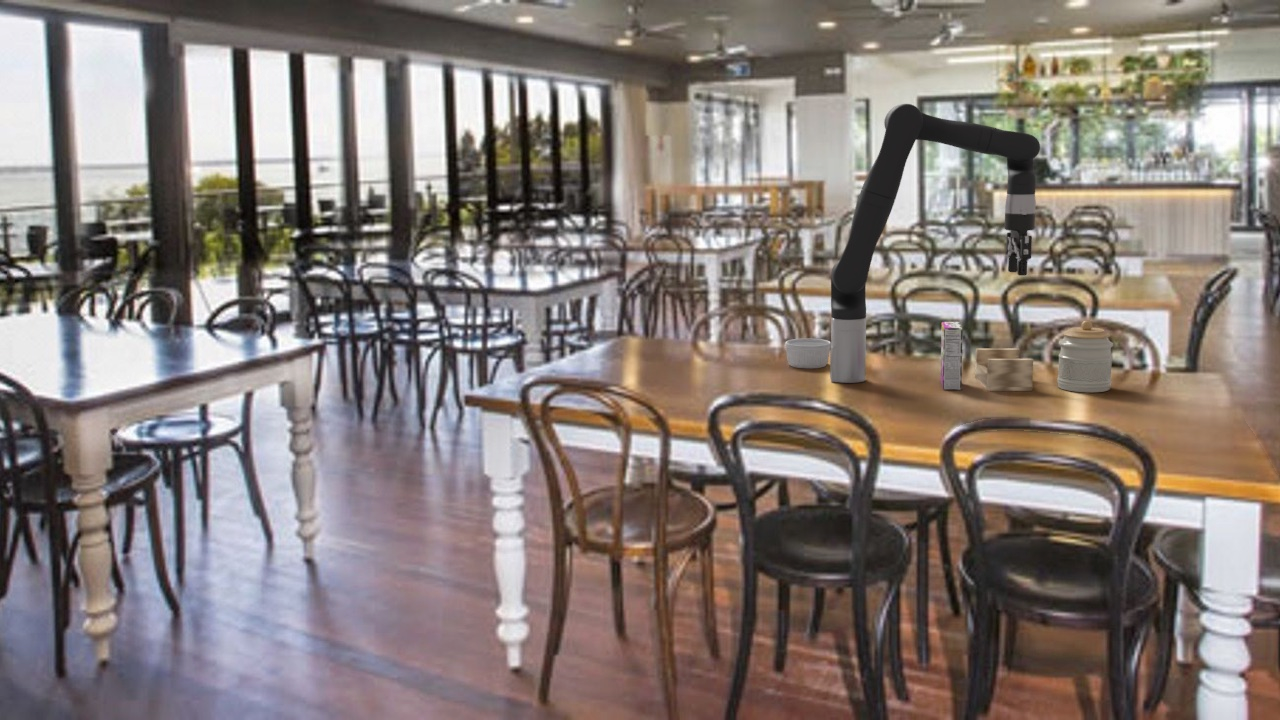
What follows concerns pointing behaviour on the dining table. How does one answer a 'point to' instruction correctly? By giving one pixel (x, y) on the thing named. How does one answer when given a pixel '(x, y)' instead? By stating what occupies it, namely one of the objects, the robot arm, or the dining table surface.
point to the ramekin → (807, 352)
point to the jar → (1085, 359)
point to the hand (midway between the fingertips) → (1017, 273)
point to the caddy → (1003, 369)
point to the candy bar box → (951, 355)
